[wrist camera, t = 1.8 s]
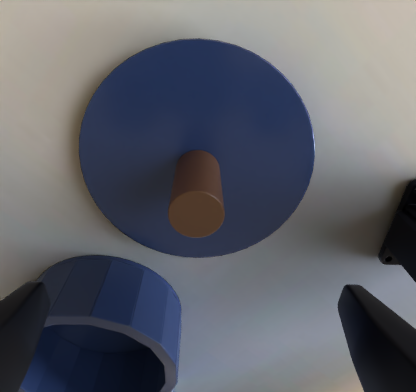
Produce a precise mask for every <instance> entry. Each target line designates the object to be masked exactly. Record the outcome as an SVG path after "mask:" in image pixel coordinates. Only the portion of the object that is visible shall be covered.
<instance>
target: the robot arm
mask: <svg viewBox="0 0 416 392" xmlns="http://www.w3.org/2000/svg"><path fill="white" fill-rule="evenodd" d="M415 189H416V179H415V180H413V181H411V182H410V183H409V184H408V186H407V188H406V190H405V192H404V195H403V197H402V200H401V202H400V205H399V207H398V209H397V212H396V214H395V217H394V219H393V221H392V224H391V226H390V229H389V231H388V234H387V236H386V238H385V241H384V243H383V246H382V248H381V250H380V253H379V255H378V258H379V260H380V261H381V262H382V263H383V264H387V265H402V266H403V267H404V269H405V270H406V271H407V272H408V274H409V275H410V276H411V277H412V278H413V280H414V281H415V282H416V190H415ZM386 257H387V258H386ZM50 306H51V301H50V297H49V295H48V292H47V289H46V286H45V284H44V283H43V282H41V281H30V282H27V283H25V284H24V285H22V286H21V287H20V288H18V289H17V290H15V291H14V292H13V293H11V294H10V295H8V296H7V297H6V298H4V299H3V300H1V301H0V392H18V391H19V389H20V387H21V384H22V382H23V380H24V378H25V376H26V373H27V371H28V369H29V367H30V364H31V362H32V360H33V357H34V354H35V351H36V348H37V345H38V342H39V339H40V336H41V334H42V331H43V328H44V325H45V322H46V319H47V316H48V313H49V310H50ZM338 312H339V315H340V319H341V322H342V326H343V330H344V333H345V337H346V340H347V344H348V348H349V351H350V355H351V358H352V361H353V364H354V367H355V369H356V372H357V374H358V377H359V380H360V382H361V385H362V387H363V390H364V392H416V329H415V328H413V327H412V326H411V325H410V324H408V323H407V322H406V321H405V320H403V319H402V318H401V317H400V316H398V315H397V314H396V313H395V312H393V311H392V310H391V309H389V308H388V307H387V306H386V305H384V304H383V303H382V302H381V301H379V300H378V299H377V298H376V297H374V296H373V295H372V294H371V293H369V292H368V291H367V290H366V289H364V288H363V287H362V286H360V285H345V286H344V288H343V290H342V293H341V296H340V298H339V301H338Z"/></svg>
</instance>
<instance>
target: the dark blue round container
mask: <svg viewBox="0 0 416 392" xmlns="http://www.w3.org/2000/svg"><path fill="white" fill-rule="evenodd" d="M37 281H41V282H43V283H44V284H45V286H46V289H47V292H48V295H49V297H50V301H51V306H50V310H49V313H48V316H47V319H46V322H45V325H44V328H43V331H42V334H41V336H40V339H39V342H38V345H37V348H36V351H35V354H34V357H33V360H32V362H31V364H30V367H29V369H28V371H27V373H26V376H25V378H24V380H23V382H22V384H21V387H20V389H19V391H18V392H172V390H173V389H174V387H175V386H176V385H177V379H178V365H179V351H180V337H181V305H180V301H179V298H178V296H177V295H176V293H175V291H174V290H173V288H172V287H171V286H170V285H169V284H168V283H167V282H166V281H165V279H163V278H162V277H161V276H159V275H158V274H157V273H155V272H154V271H152V270H150V269H149V268H147V267H145V266H143V265H140V264H138V263H135V262H133V261H130V260H126V259H122V258H118V257H111V256H100V255H91V256H81V257H75V258H71V259H67V260H64V261H62V262H59V263H57V264H55V265H53V266H52V267H50V268H49V269H47V270H46V271H45V272H44V273H43V274H42V275H41V276H40V277H39V278H38V280H37Z"/></svg>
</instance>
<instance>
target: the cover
mask: <svg viewBox="0 0 416 392" xmlns="http://www.w3.org/2000/svg"><path fill="white" fill-rule="evenodd" d="M79 157H80V164H81V170H82V173H83V177H84V180H85V183H86V185H87V188H88V190H89V192H90V195H91V196H92V198H93V200H94V201H95V203H96V205H97V206H98V208H99V209H100V210H101V211H102V213H103V214H104V215H105V217H106V218H107V219H108V220H109V221H110V222H111V223H112V224H113V225H114V226H115V227H117V228H118V229H119V230H120V231H121V232H123V233H124V234H125V235H127V236H128V237H130V238H131V239H133V240H135V241H136V242H138V243H140V244H142V245H144V246H146V247H148V248H151V249H154V250H156V251H159V252H163V253H166V254H170V255H175V256H181V257H193V258H203V257H215V256H222V255H226V254H230V253H234V252H237V251H240V250H243V249H246V248H248V247H250V246H252V245H254V244H256V243H258V242H260V241H261V240H263V239H265V238H266V237H268V236H269V235H271V234H272V233H273V232H274V231H276V230H277V229H278V228H279V227H280V226H281V225H282V224H283V223H284V222H285V221H286V220H287V219H288V218H289V217H290V216H291V214H292V213H293V212H294V211H295V209H296V208H297V206H298V205H299V203H300V201H301V200H302V198H303V196H304V194H305V192H306V190H307V187H308V185H309V182H310V178H311V175H312V171H313V165H314V158H315V141H314V134H313V128H312V124H311V121H310V117H309V114H308V112H307V109H306V107H305V105H304V103H303V101H302V99H301V97H300V96H299V94H298V93H297V91H296V89H295V88H294V86H293V85H292V84H291V83H290V82H289V81H288V79H287V78H286V77H285V76H284V75H283V74H282V73H281V72H280V71H279V70H278V69H276V68H275V67H274V66H273V65H272V64H270V63H269V62H268V61H266V60H264V59H263V58H261V57H260V56H258V55H256V54H255V53H253V52H251V51H249V50H246V49H244V48H242V47H239V46H237V45H234V44H230V43H226V42H222V41H218V40H210V39H200V38H198V39H180V40H175V41H169V42H164V43H161V44H158V45H155V46H153V47H150V48H147V49H145V50H143V51H141V52H139V53H137V54H135V55H133V56H132V57H130V58H128V59H127V60H126V61H124V62H123V63H122V64H120V65H119V66H118V67H116V68H115V69H114V70H113V71H112V72H111V73H110V74H109V75H108V76H107V77H106V78H105V79H104V80H103V81H102V83H101V84H100V86H99V87H98V89H97V90H96V91H95V93H94V94H93V96H92V98H91V100H90V102H89V104H88V106H87V108H86V111H85V114H84V117H83V120H82V124H81V130H80V136H79Z"/></svg>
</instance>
